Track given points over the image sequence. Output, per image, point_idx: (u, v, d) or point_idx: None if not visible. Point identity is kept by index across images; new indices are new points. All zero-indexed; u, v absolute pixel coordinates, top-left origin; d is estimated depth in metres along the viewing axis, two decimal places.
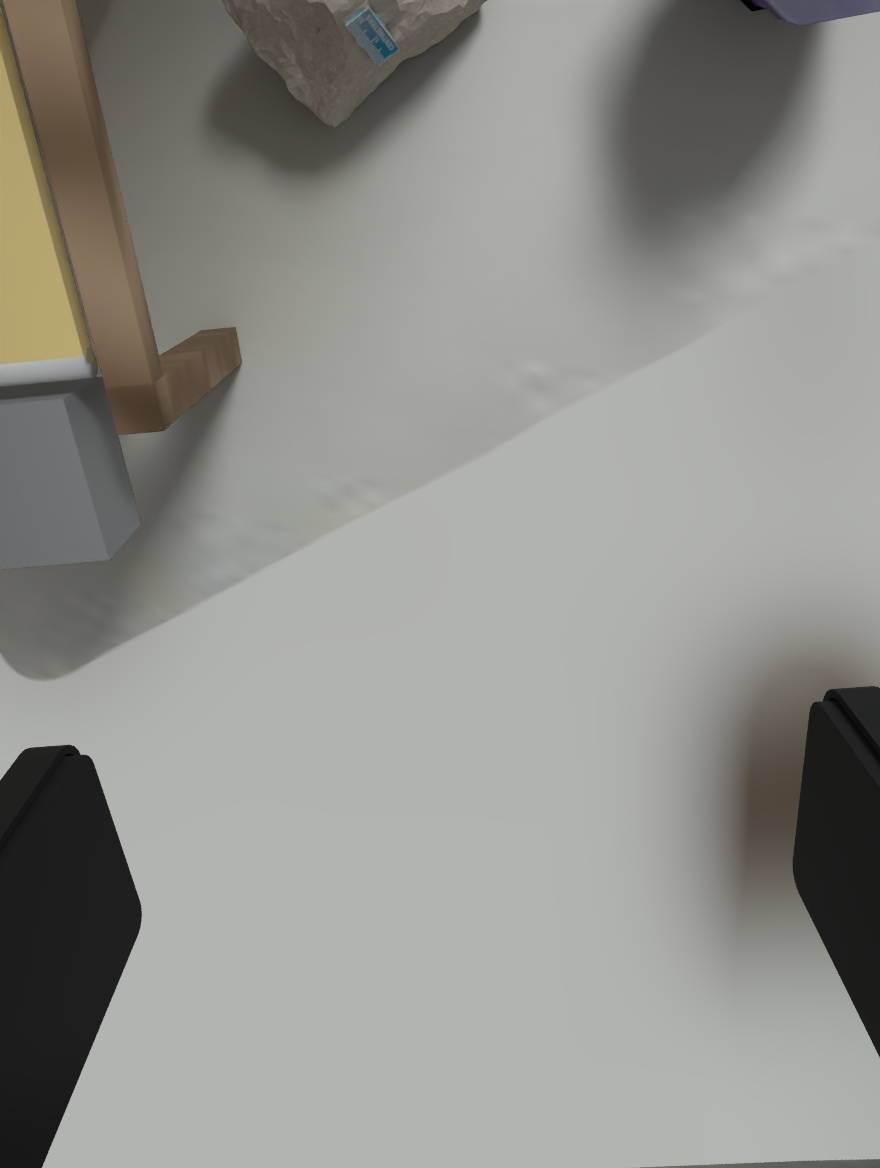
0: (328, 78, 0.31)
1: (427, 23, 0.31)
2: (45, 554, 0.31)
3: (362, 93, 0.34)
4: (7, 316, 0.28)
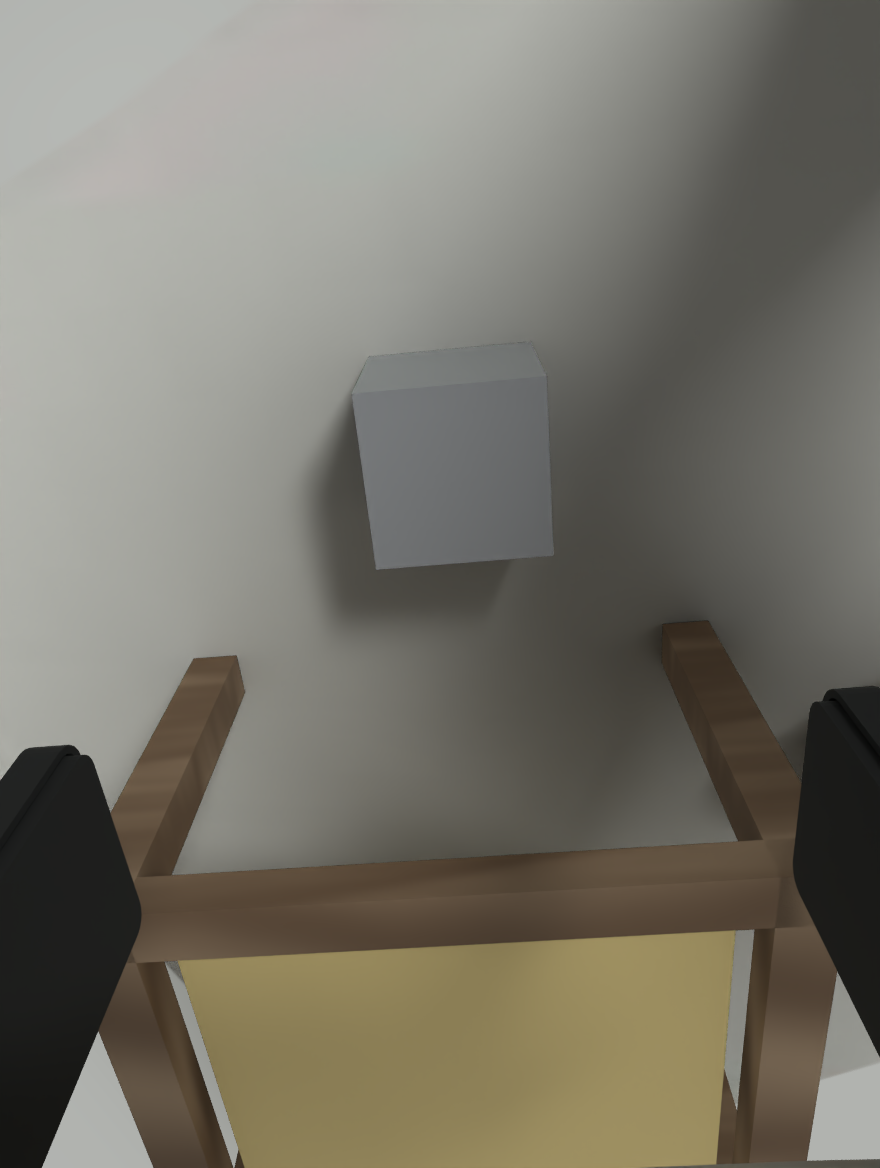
0: None
1: None
2: None
3: None
4: None
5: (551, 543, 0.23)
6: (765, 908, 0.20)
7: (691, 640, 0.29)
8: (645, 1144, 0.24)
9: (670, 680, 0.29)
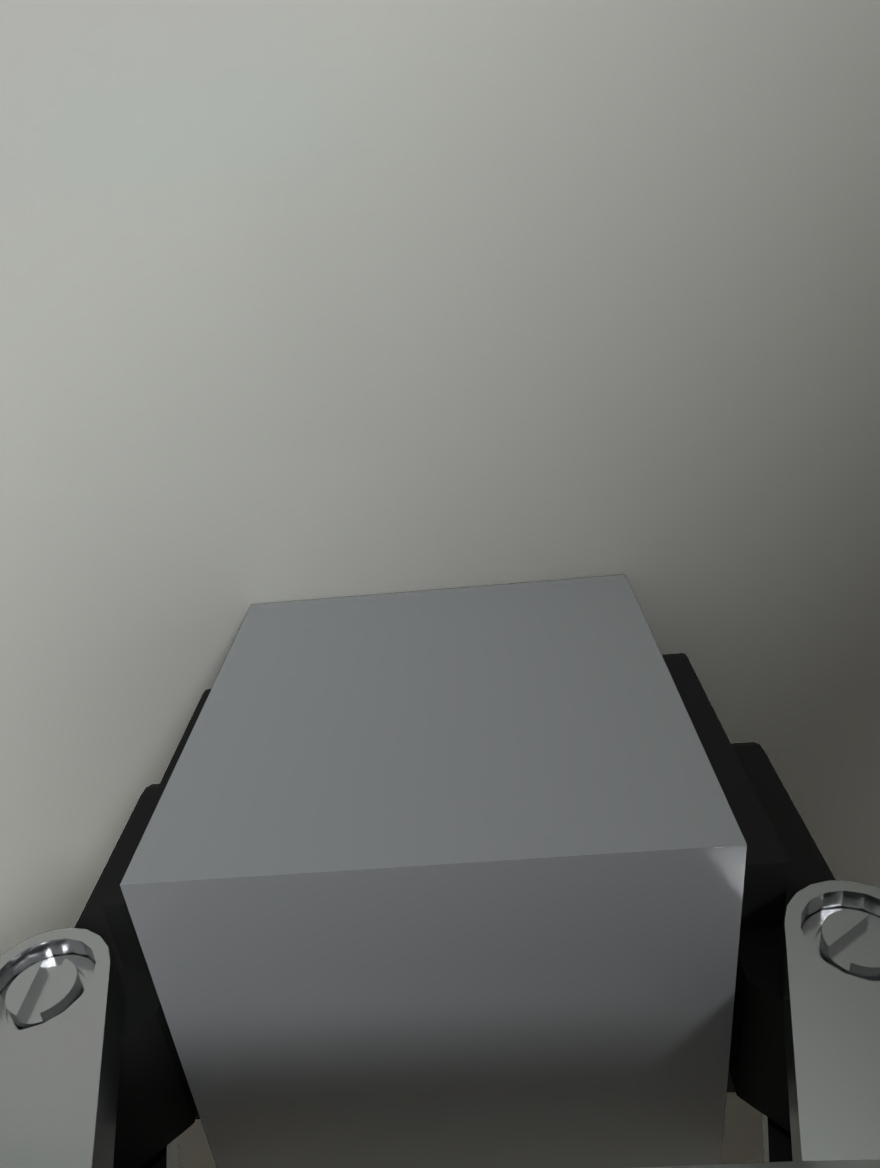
0: None
1: None
2: None
3: None
4: None
5: None
6: None
7: None
8: None
9: None
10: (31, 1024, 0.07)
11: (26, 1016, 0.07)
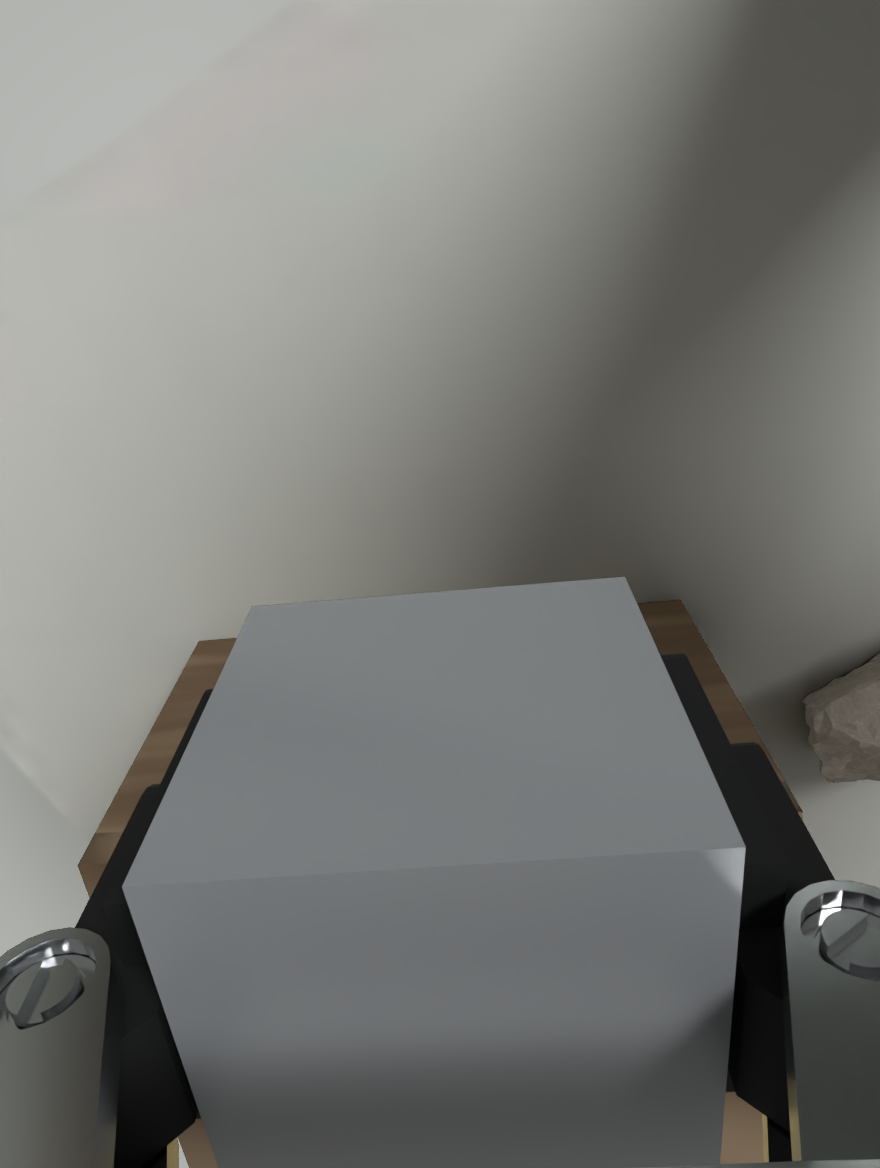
0: (868, 776, 0.31)
1: None
2: None
3: None
4: None
5: None
6: None
7: (664, 617, 0.31)
8: None
9: None
10: (32, 1024, 0.07)
11: (27, 1016, 0.07)
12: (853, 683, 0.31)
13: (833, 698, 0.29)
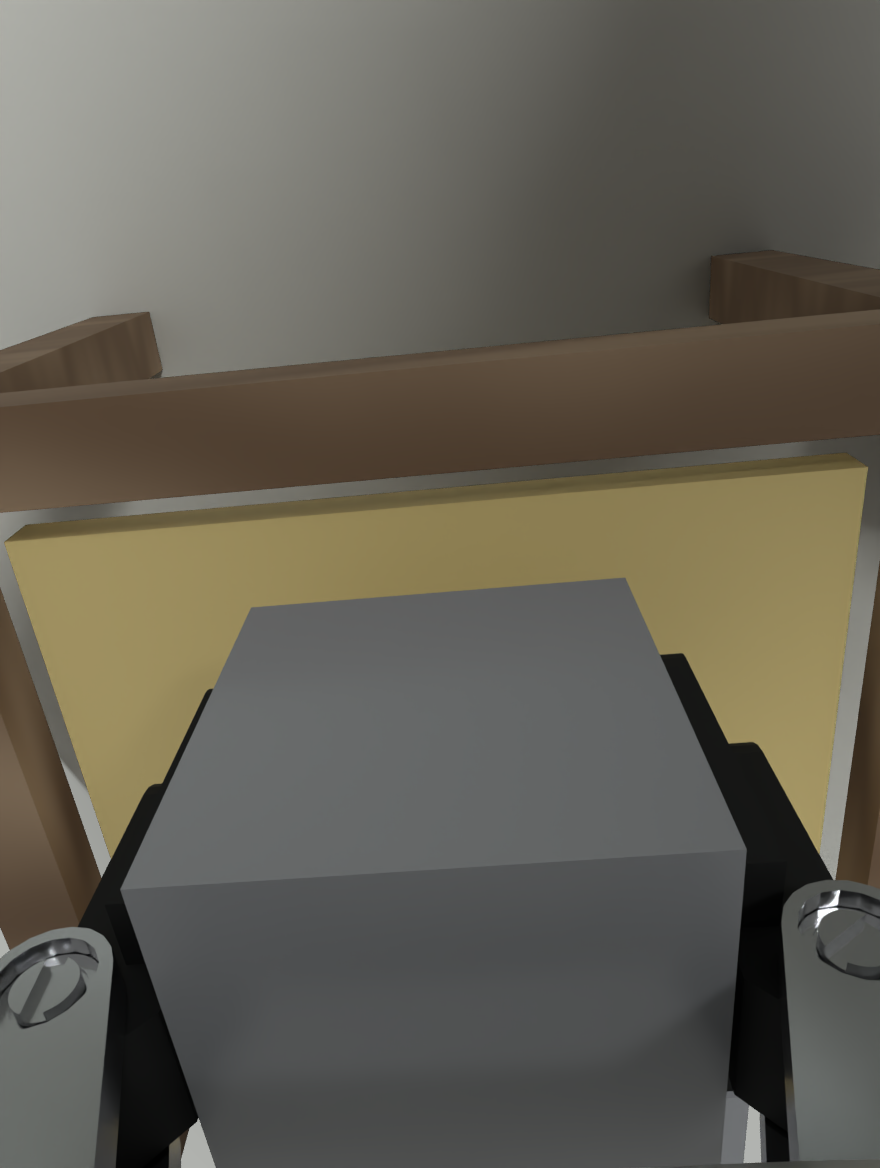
0: None
1: None
2: None
3: None
4: None
5: None
6: None
7: (753, 256, 0.21)
8: None
9: (724, 320, 0.22)
10: (34, 1023, 0.07)
11: (29, 1015, 0.07)
12: None
13: None
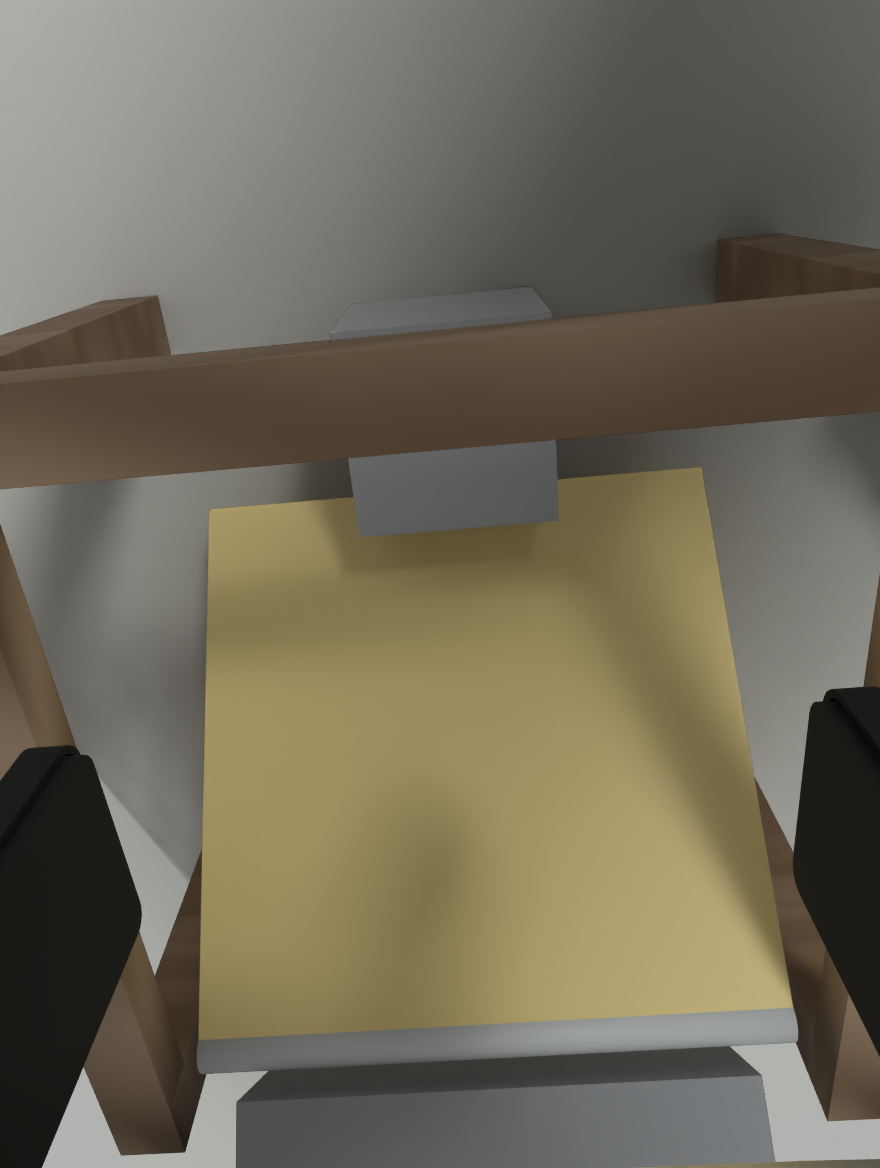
0: None
1: None
2: None
3: None
4: (690, 943, 0.20)
5: (547, 309, 0.19)
6: None
7: (760, 240, 0.21)
8: (670, 783, 0.21)
9: None
10: None
11: None
12: None
13: None
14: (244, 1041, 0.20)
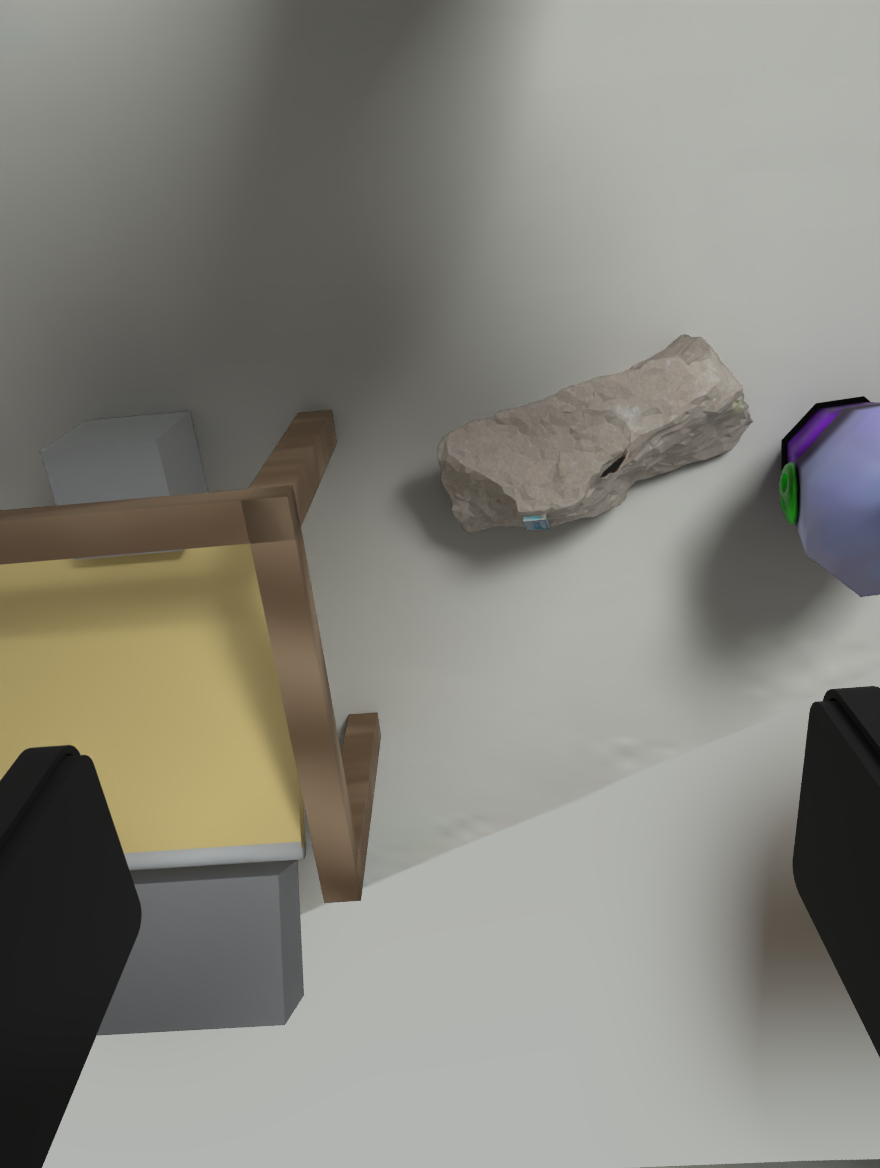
0: (486, 520, 0.38)
1: None
2: (230, 1016, 0.35)
3: None
4: (250, 809, 0.36)
5: (158, 437, 0.35)
6: (238, 526, 0.29)
7: (308, 418, 0.38)
8: (248, 722, 0.37)
9: None
10: None
11: None
12: None
13: None
14: None
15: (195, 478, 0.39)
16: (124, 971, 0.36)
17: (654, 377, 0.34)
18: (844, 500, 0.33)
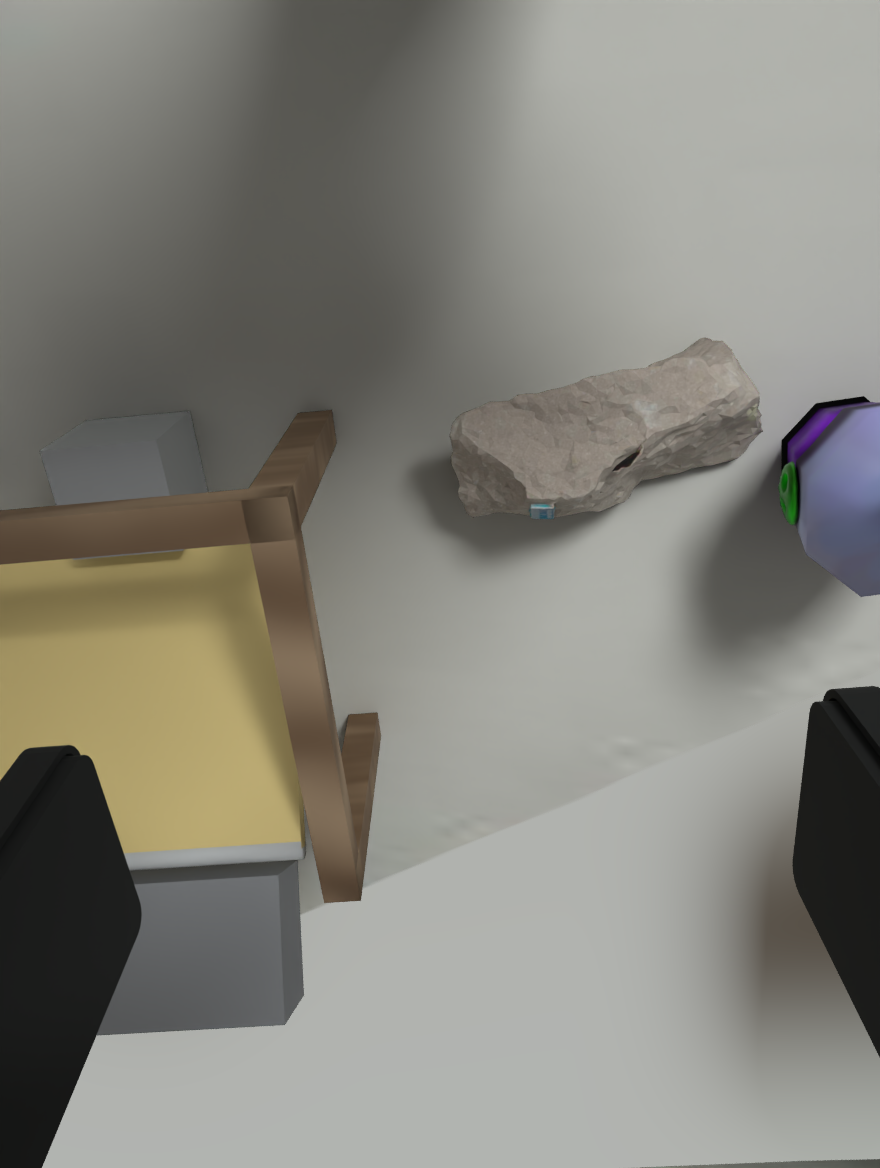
0: (492, 504, 0.38)
1: None
2: (230, 1016, 0.35)
3: None
4: (250, 809, 0.36)
5: (158, 437, 0.35)
6: (238, 526, 0.29)
7: (308, 418, 0.38)
8: (248, 722, 0.37)
9: None
10: None
11: None
12: None
13: None
14: None
15: (195, 478, 0.39)
16: (124, 971, 0.36)
17: (674, 376, 0.34)
18: (844, 500, 0.33)
